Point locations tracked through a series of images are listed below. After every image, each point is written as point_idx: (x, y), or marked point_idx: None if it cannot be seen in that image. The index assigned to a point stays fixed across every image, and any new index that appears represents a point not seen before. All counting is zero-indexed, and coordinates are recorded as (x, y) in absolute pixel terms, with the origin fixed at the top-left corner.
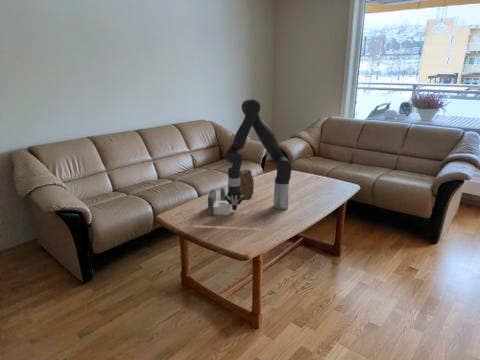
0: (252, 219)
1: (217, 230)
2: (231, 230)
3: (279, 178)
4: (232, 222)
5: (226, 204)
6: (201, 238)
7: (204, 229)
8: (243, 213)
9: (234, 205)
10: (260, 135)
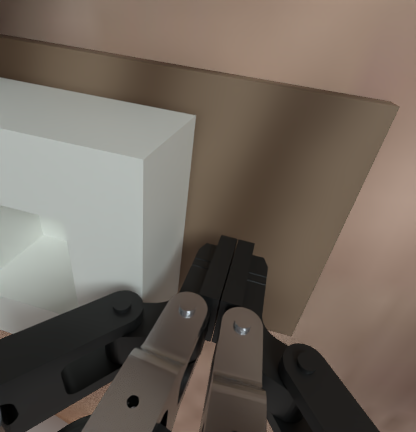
0: (409, 361)
1: None
2: (198, 418)
3: None
4: (208, 355)
5: (81, 289)
6: (66, 418)
7: None
8: (363, 228)
9: (213, 339)
10: None
